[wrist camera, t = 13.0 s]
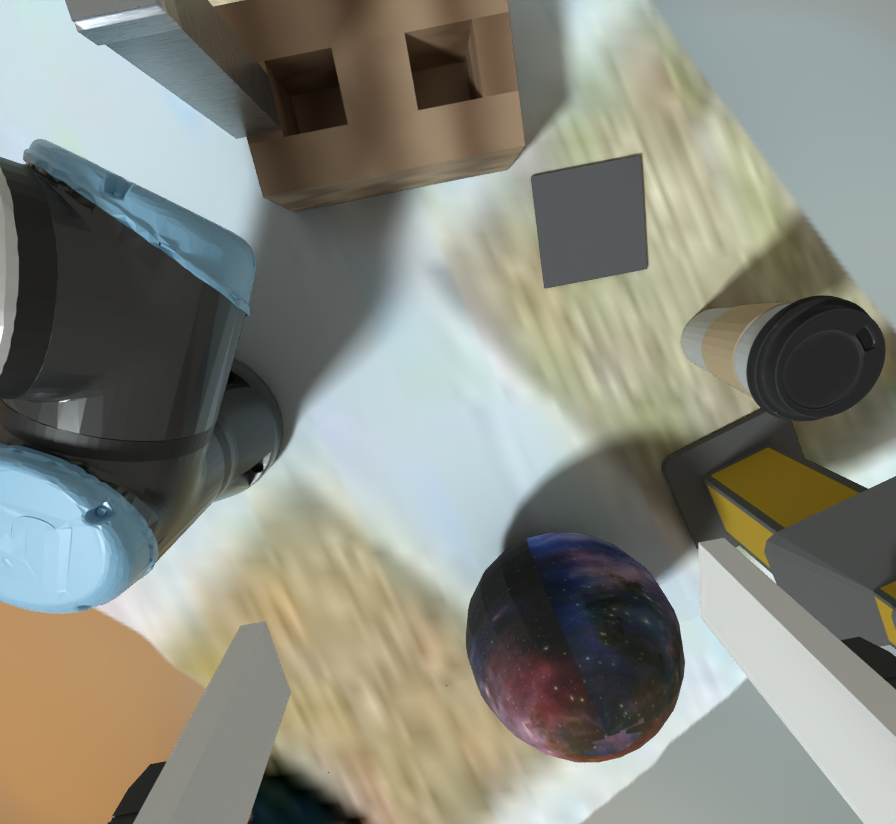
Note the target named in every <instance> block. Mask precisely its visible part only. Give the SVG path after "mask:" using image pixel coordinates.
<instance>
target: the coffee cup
mask: <svg viewBox="0 0 896 824" xmlns="http://www.w3.org/2000/svg"><path fill="white" fill-rule="evenodd" d="M681 345H682V349H683V352H684V354H685V355H686V357H687V358H688V359H689V360H690V361H691V362H692V363H694V364H695V365H697V366H699V367H701V368H703V369H704V370H706V371H708V372H710V373H712V375H714V376H715V377H716V378H718V379H719V380H721V381H723V382H725V383H727V384H728V385H730V386H732V387H734V388H736V389H738V390H740V391H741V392H743V393H745V394H747V395H749V396H751V397H752V398H753V399H754V400H755V402H756V403H757V404H758V405H759V406H760V407H761V408H762V409H763V410H764V411H766V412H767V413H769V414H770V415H772V416H775V417H777V418H781V419H785V420H792V421H812V420H817V419H821V418H824V417H828V416H833V415H836V414H839V413H841V412H843V411H845V410H847V409H849V408H851V407H852V406H854V405H855V404H857V403H858V402H859V401H860V400H861V399H863V398H864V397H865V396H866V395H867V393H868V392H869V391H870V390H871V389H872V387H873V386H874V384H875V383H876V381H877V379H878V377H879V376H880V373H881V371H882V368H883V364H884V360H885V341H884V337H883V334H882V332H881V329H880V328H879V326H878V325H877V323H876V322H875V321H874V320H873V319H872V318H871V317H870V316H869V315H868V314H867V313H866V312H865V311H864V310H863V309H862V308H861V307H860V306H858V305H856V304H855V303H853V302H850V301H848V300H844V299H841V298H838V297H833V296H812V297H808V298H804V299H801V300H798V301H791V302H776V303H762V304H747V305H740V306H736V307H727V308H713V309H708V310H705V311H703V312H701V313H699V314H697V315H696V316H695V317H693V318H692V319H691V320H690V321H689V323H688V324H687V325H686V327H685V329H684V331H683V333H682V336H681Z"/></svg>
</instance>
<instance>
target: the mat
mask: <svg viewBox="0 0 896 824" xmlns="http://www.w3.org/2000/svg"><path fill="white" fill-rule="evenodd" d="M531 182H532V191H533V199H534V207H535V215H536V224H537V232H538V240H539V249H540V257H541V265H542V273H543V282H544V288H550V287H556V286H561V285H566V284H571V283H576V282H582V281H587V280H592V279H597V278H602V277H608V276H613V275H618V274H623V273H629V272H634V271H639V270H644V269H647V256H646V239H645V222H644V204H643V187H642V170H641V155H639V156H634V157H629V158H624V159H619V160H614V161H609V162H603V163H598V164H593V165H588V166H583V167H578V168H573V169H568V170H563V171H557V172H552V173H547V174H542V175H537V176H532V177H531Z"/></svg>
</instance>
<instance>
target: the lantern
mask: <svg viewBox="0 0 896 824" xmlns="http://www.w3.org/2000/svg"><path fill="white" fill-rule="evenodd" d="M662 472H663V474H664V476H665V478H666V481H667V483H668V485H669V487H670V490H671V492H672V494H673V496H674V498H675V501H676V503H677V505H678V507H679V510H680V512H681V514H682V516H683V518H684V521H685V523H686V525H687V527H688V530H689V532H690V534H691V536H692V538H693V541H694V543H695V545H696V547H697V549H698V550H699V545H698V543H699V542H704V541H710V540H715V539H720V538H725V539H726V540H727V541H728V542H729V543H730V544H732V545H733V546H734V547H737V546H739V545H740V546H741V547H742V548H743V549H744V550H745V551H747V552H748V553H749V554H750V555H751V556H752V557H754V558H755V559H756V560H757V561H758V562H759V563H760V564H762V565H763V566H764V567H765V568H766V569H767V570H769V571H770V572H771V573H772V574H773V576H774V578H775V581H776V583H777V585H778V586H779V587H780V588H781V589H783V590H784V591H785V592H786V593H787V594H788V595H789V596H790V597H792V598H793V599H794V600H795V601H796V602H797V603H798V604H799V605H801V606H802V607H803V608H804V609H805V610H806V611H807V612H809V613H810V614H811V615H812V616H813V617H814V618H815V619H816V620H818V621H819V622H820V623H821V624H822V625H823V626H824V627H826V628H827V629H828V630H829V631H830V632H831V633H832V634H833V635H835V636H836V637H837V638H838V639H839V640H844V639H849V638H855V637H862V638H863V639H865V640H867V641H869V642H871V643H873V644H875V645H877V646H884V645H891V646H892V647H894V648H895V649H896V476H895V477H893V478H891V479H889V480H887V481H885V482H882V483H880V484H878V485H876V486H874V487H872V488H870V489H868V488H865V487H863V486H861V485H859V484H857V483H855V482H853V481H851V480H849V479H847V478H845V477H843V476H841V475H838V474H836V473H834V472H832V471H830V470H828V469H826V468H824V467H822V466H820V465H818V464H816V463H814V462H811V461H809V460H807V459H805V458H804V456H803V453H802V450H801V447H800V444H799V441H798V438H797V435H796V432H795V430H794V427H793V424H792V421H791V420H785V419H781V418H777V417H775V416H772V415H770V414H769V413H767V412H766V411H764V410H763V409H760V410H758V411H756V412H754V413H752V414H750V415H748V416H746V417H744V418H742V419H740V420H738V421H736V422H734V423H732V424H730V425H728V426H726V427H724V428H722V429H720V430H718V431H716V432H714V433H712V434H710V435H708V436H706V437H704V438H702V439H700V440H698V441H696V442H694V443H692V444H690V445H688V446H686V447H684V448H682V449H680V450H678V451H676V452H674V453H672V454H670V455H668V456H667V457H666V458H665V459H664V460H663V464H662Z"/></svg>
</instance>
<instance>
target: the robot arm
mask: <svg viewBox="0 0 896 824" xmlns="http://www.w3.org/2000/svg"><path fill="white" fill-rule="evenodd" d="M23 160H24V161H25V162H26V164H20V163H17V162H14V161H11V160H8V159H5V158H2V157H0V601H2V602H5V603H7V604H10V605H13V606H16V607H19V608H23V609H27V610H32V611H37V612H44V613H73V612H80V611H85V610H88V609H91V608H92V607H97V606H99V605H103V604H106V603H108V602H110V601H112V600H113V599H115V598H116V597H118V596H119V595H121V594H122V593H123V592H124V591H125V590H127V589H128V588H129V587H130V586H131V585H133V584H134V583H135V582H136V581H138V580H139V579H141V578H143V576H145V575H146V574H148V573H149V572H150V571H151V570H152V569H153V567H154V565H155V563H156V562H157V561H158V560H159V558H160V557H161V556H162V555H163V554H164V553H165V552H166V551H167V550H168V549H169V548H170V547H171V546H172V545H173V544H174V543H175V542H176V541H177V539H178V538H179V537H180V536H181V535H182V534H183V533H184V532H185V531H186V530H187V529H188V528H189V527H190V526H191V525H192V524H193V523H194V521H195V520H196V519H197V518H198V517H199V516H200V515H201V514H202V513H203V512H204V511H205V510H206V509H207V508H208V507H209V506H210V505H211V503H212V502H215V501H219V500H222V499H225V498H228V497H231V496H233V495H236V494H238V493H240V492H242V491H244V490H246V489H248V488H249V487H250V486H252V485H253V484H255V483H256V482H257V481H258V480H259V479H260V478H261V477H262V476H263V475H264V474H265V472H266V471H267V470H268V469H269V468H270V466H271V465H272V464H273V462H274V460H275V459H276V457H277V455H278V452H279V449H280V446H281V442H282V434H283V426H282V418H281V414H280V410H279V407H278V404H277V402H276V400H275V398H274V396H273V394H272V392H271V391H270V389H269V388H268V387H267V385H266V384H265V383H264V382H263V380H262V379H261V378H260V377H259V376H258V375H257V374H256V373H254V372H253V371H252V370H251V369H249V368H248V367H247V366H245V365H244V364H242V363H240V362H238V361H237V360H235V359H234V355H235V352H236V348H237V344H238V341H239V337H240V333H241V330H242V326H243V322H244V319H245V316H249V315H250V312H251V309H250V307H249V301H250V297H251V292H252V288H253V283H254V279H255V274H256V269H257V263H256V257H255V255H254V252H253V250H252V248H251V247H250V246H249V244H248V243H247V242H246V241H245V240H244V239H243V238H241V237H240V236H238V235H236V234H235V233H233V232H231V231H229V230H227V229H225V228H223V227H221V226H219V225H217V224H215V223H213V222H211V221H209V220H207V219H205V218H203V217H201V216H199V215H197V214H195V213H193V212H191V211H189V210H187V209H185V208H183V207H181V206H179V205H177V204H175V203H173V202H171V201H169V200H167V199H165V198H163V197H161V196H159V195H157V194H155V193H153V192H151V191H149V190H147V189H145V188H143V187H141V186H138V185H136V184H134V183H132V182H130V181H128V180H126V179H124V178H123V177H120V176H118V175H116V174H114V173H112V172H110V171H108V170H106V169H104V168H102V167H100V166H98V165H96V164H94V163H92V162H90V161H88V160H86V159H84V158H82V157H80V156H78V155H76V154H74V153H72V152H70V151H68V150H66V149H64V148H62V147H60V146H57V145H55V144H53V143H51V142H49V141H47V140H43V139H37V140H35V141H33V142H32V144H31V146H30V148H29V149H26V150H25V151H24V155H23ZM698 545H699V576H700V606H701V619H702V620H703V622H704V623H705V624H706V626H707V627H708V628H709V629H710V631H711V632H712V633H713V634H714V636H715V637H716V638H717V639H718V641H719V642H720V643H721V644H722V646H723V647H724V648H725V649H726V651H727V652H728V653H729V654H730V656H731V657H732V658H733V659H734V661H735V662H736V663H737V664H738V666H739V667H740V668H741V670H742V671H743V672H744V673H745V675H746V676H747V677H748V678H749V680H750V681H751V682H752V683H753V685H754V686H755V687H756V688H757V690H758V691H759V692H760V693H761V695H762V696H763V697H764V698H765V700H766V701H767V702H768V703H769V705H770V706H771V707H772V708H773V710H774V711H775V712H776V714H777V715H778V716H779V717H780V719H781V720H782V721H783V722H784V723H785V725H786V726H787V727H788V729H789V730H790V731H791V732H792V734H793V735H794V736H795V737H796V739H797V740H798V741H799V742H800V744H801V745H802V746H803V747H804V749H805V750H806V751H807V752H808V754H809V755H810V756H811V758H812V759H813V760H814V761H815V763H816V764H817V765H818V766H819V767H820V769H821V770H822V771H823V773H824V774H825V775H826V776H827V778H828V779H829V780H830V781H831V783H832V784H833V785H834V786H835V788H836V789H837V790H838V791H839V793H840V794H841V795H842V796H843V798H844V799H845V800H846V801H847V802H848V804H849V805H850V807H851V808H852V809H853V810H854V811H855V813H856V814H857V815H858V817H859V818H860V819H861V820H862V822H863V823H864V824H896V657H895V656H894V655H893V654H891V653H890V652H888V651H886V650H884V649H883V648H881V647H879V646H877V645H875V644H873V643H871V642H869V641H867V640H865V639H863V638H862V637H855V638H849V639H844V640H839V639H838V638H837V637H836V636H835V635H833V634H832V633H831V632H830V631H829V630H828V629H827V628H826V627H824V626H823V625H822V624H821V623H820V622H819V621H818V620H816V619H815V618H814V617H813V616H812V615H811V614H810V613H809V612H807V611H806V610H805V609H804V608H803V607H802V606H801V605H799V604H798V603H797V602H796V601H795V600H794V599H793V598H792V597H790V596H789V595H788V594H787V593H786V592H785V591H784V590H783V589H781V588H780V587H779V586H778V585H777V584H776V583H775V582H773V581H772V580H771V579H770V578H769V577H768V576H767V575H766V574H764V573H763V572H762V571H761V570H760V569H759V568H758V567H756V566H755V565H754V564H753V563H752V562H751V561H750V560H749V559H747V558H746V557H745V556H744V555H743V554H742V553H741V552H740V551H738V550H737V549H736V548H735V547H734V546H733V545H732V544H730V543H729V542H728V541H727V540H726V539H725V538H720V539H715V540H710V541H704V542H699V543H698ZM290 694H291V691H290V688H289V685H288V682H287V680H286V677H285V674H284V671H283V669H282V666H281V663H280V660H279V658H278V655H277V652H276V649H275V646H274V644H273V641H272V638H271V635H270V633H269V630H268V627H267V624H266V621H265V622H259V623H254V624H248V625H243V626H240V628H239V630H238V632H237V633H236V635H235V637H234V639H233V641H232V643H231V644H230V646H229V648H228V650H227V652H226V654H225V656H224V657H223V659H222V661H221V663H220V665H219V667H218V668H217V670H216V672H215V674H214V676H213V678H212V679H211V681H210V683H209V685H208V687H207V689H206V690H205V692H204V694H203V696H202V698H201V700H200V702H199V703H198V705H197V707H196V709H195V711H194V712H193V714H192V716H191V718H190V720H189V722H188V723H187V725H186V727H185V729H184V731H183V733H182V735H181V736H180V738H179V740H178V742H177V744H176V746H175V748H174V749H173V751H172V753H171V755H170V757H169V759H168V760H167V761H166V762H160V763H155V764H150V765H149V766H148V768H147V769H146V770H145V771H144V772H143V773H142V774H141V776H140V777H139V778H138V779H137V780H136V781H135V782H134V783H133V784H132V785H131V787H130V788H129V789H128V790H127V792H126V794H125V795H124V797H123V799H122V801H121V802H120V804H119V806H118V807H117V809H116V811H115V812H114V814H113V816H112V821H111V822H109V823H108V824H247V822H248V819H249V816H250V813H251V810H252V807H253V804H254V801H255V798H256V795H257V792H258V789H259V786H260V783H261V780H262V777H263V774H264V771H265V768H266V765H267V762H268V759H269V756H270V753H271V750H272V747H273V744H274V741H275V738H276V735H277V732H278V729H279V726H280V723H281V720H282V717H283V714H284V711H285V708H286V705H287V702H288V699H289V696H290Z"/></svg>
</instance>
